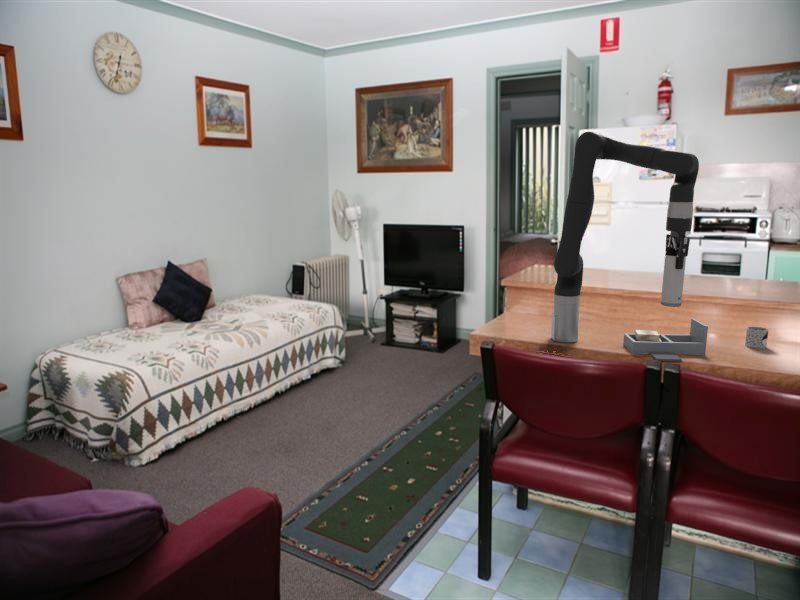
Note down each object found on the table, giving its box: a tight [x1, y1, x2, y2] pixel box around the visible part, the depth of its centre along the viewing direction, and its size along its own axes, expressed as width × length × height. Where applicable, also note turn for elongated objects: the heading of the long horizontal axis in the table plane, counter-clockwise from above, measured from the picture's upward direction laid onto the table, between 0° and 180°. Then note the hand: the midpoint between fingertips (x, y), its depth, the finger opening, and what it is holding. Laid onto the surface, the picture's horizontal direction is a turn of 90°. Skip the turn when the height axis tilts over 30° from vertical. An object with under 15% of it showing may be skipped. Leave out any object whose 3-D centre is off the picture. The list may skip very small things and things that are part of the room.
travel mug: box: [660, 247, 687, 308], centre depth 200 cm, size 6×7×20 cm
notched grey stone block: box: [744, 326, 769, 350], centre depth 218 cm, size 10×7×7 cm, turn 149°
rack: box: [622, 318, 709, 356], centre depth 213 cm, size 24×12×10 cm, turn 85°
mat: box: [648, 352, 683, 363], centre depth 203 cm, size 8×8×1 cm
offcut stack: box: [634, 329, 662, 342], centre depth 214 cm, size 8×7×6 cm
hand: (674, 267), depth 199 cm, fingers closed on travel mug, 6 cm apart
